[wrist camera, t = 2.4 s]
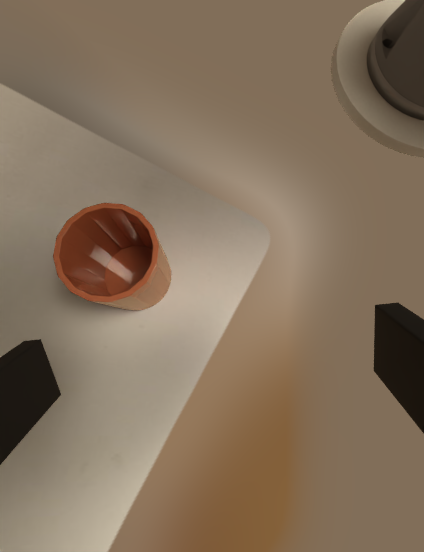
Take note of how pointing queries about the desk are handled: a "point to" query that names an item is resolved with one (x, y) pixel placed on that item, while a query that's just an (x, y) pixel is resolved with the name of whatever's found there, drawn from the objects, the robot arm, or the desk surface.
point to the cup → (112, 257)
